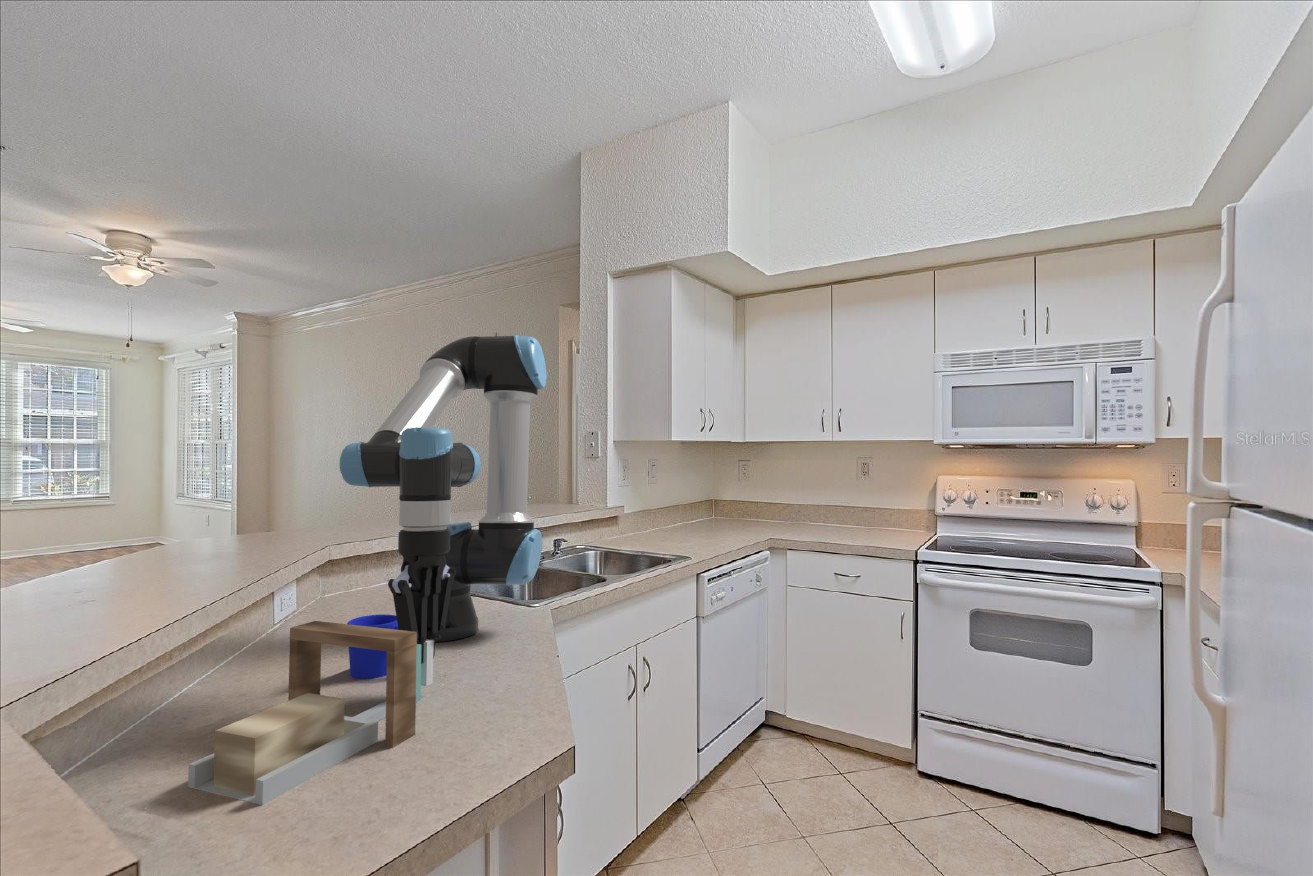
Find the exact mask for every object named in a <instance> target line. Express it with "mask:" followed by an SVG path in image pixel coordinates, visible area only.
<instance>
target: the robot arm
mask: <svg viewBox="0 0 1313 876" xmlns="http://www.w3.org/2000/svg"><path fill="white" fill-rule="evenodd" d="M544 356H545V355H544V352H543V348H542V346H541V344H540V342H539V341H538V339H536V338H534V337H533V336H525V335H523V336H522V335H518V334H514V335H498V336H495V335H494V336H493V335H492V336H471V335H470V336H467V337H462V338H458V339H456V340H454V341H452V342H450V343H448V344H446V345H445V346H443V347H441V348H439V349H438V350H437V351H435V352H434V353H433V354H432V355H431V356H429V358H428V359H427V360H426V361H425V362H424V363H423V364H422V366H421V368H420V371H419V378H418V379H417V381H415V382H414V384H413V385H412V387H411V388H410V389H409V390H408V392H406V394H405V395H404V396H403V398H402V399H401V400H400V401H399V403H398V404H397V405H396V406H395V408H394V409H393V411H392V412H391V413H390V414H389V415H388V416H387V418H386V419H385V420H384V422H383V423H382V424H381V425H380V427H379V428H377V431H375V433H374V434H373V436H372V437H371V438H370V439H369V440H368V441H367V442H364V441H359V442H353V443H349V444H347V445H346V446H344V448H343V449H342V451H341V453H340V458H339V471H340V474H341V477H342V480H343V481H344V482H345V483H346V484H348V485H350V486H353V487H355V486H357V487H368V488H384V487H385V488H392V487H397V488H399V496H398V497H399V500H398V501H399V512H398V513H399V515H398V516H399V517H398V520H399V521H398V525H399V526H400V527H402V528H403V529H401V530H399V532H398V538H397V539H398V540H397V541H398V543H397V544H398V545H397V547H398V549H397V550H398V551H397V552H398V554H399V555H401V556H402V563H401V566H400V574H399V575H398V576H397V577H396V578H394V579H393V578H391V579H389V580H388V582H387V586H388V588H389V590H390V592H391V594H392V597H393V603H394V604H393V605H394V610H395V616H396V617H397V623H398V629H399V630H403V631H412V632H417V644H420V645H421V686H422V687H428V686H429V685H432V684H433V683H434V658H435V653H436V649H435V648H436V643H438V642H439V643H440V642H449V641H455V640H460V639H465V638H467V637H470V636H473V635H475V634H476V633H478V632H479V617H478V616H477V612H476V608H475V605H474V603H473V602H474V601H473V600H472V599H473V598H472V595H471V587H472V585H498V586H499V585H503V586H504V585H506V586H507V587H510V586H512V585H513V586H514V585H527V584H529V583H530V582H531V581H532V580H533V579H534V577H535V576H536V573H537V572H538V569H539V565H540V563H541V562H540V561H541V557H542V551H543V550H542V549H543V536H542V532H541V531H540V530H538V529H537V528H535V521H534V520H533V518H531V516H530V515H529V514H528V497H529V496H528V494H529V493H528V492H529V491H528V490H529V458H530V457H529V456H530V455H529V454H530V427H531V426H530V425H531V405H532V404H533V403H534V402H535V401H536V400H537V399H538V394H539V393H538V392H539V391H538V390H542V389H544V388H545V387H546V386H547V379H548V378H547V367H546V366H547V365H546V359H545V357H544ZM466 390H483V397H484V398H485V399H486V400H487V401H488V402H489V403H490V407H489V410H490V411H489V431H488V433H489V435H488V461H487V462H488V463H487V489H486V513H485V514H484V515H483V517H482V518H480V519H479V520H478V529H476V528H475V529H473V526H472V523H471V522H470V521H468V522H456V523H455V522H454V523H452V495H451V494H452V488H462V487H463V486H467V485H469V484H470V483H473V482H475V480H476V479H477V478H478V476H479V474H480V472H481V468H482V464H481V458H480V455H479V453H478V452H477V451H476V450H475V449H474V447H472V446H470V445H468V444H465V443H462V442H459V441H458V442H453V439H452V432H451V431H450V429H448V428H446V427H445V428H444V427H433V426H434V425H435V424H436V422H437V421H438V419H439V418H440V416H441V415H442V414H443V412H444V410H445V409H446V407H447V406H448V404H449V403H450V402H451V400H452V399H455V398H457V397H459V396H460V395H461V394H462V393H463V391H466Z"/></svg>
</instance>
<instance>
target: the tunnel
mask: <svg viewBox="0 0 1313 876" xmlns="http://www.w3.org/2000/svg"><path fill="white" fill-rule="evenodd" d="M322 644H324V645H325V644H327V645H334V646H335V645H336V646H341V647H342V646H343V647H348V648H349V647H357V648H365V649H373V650H381V651H387V676H386V679H385V680H386V684H385V685H386V686H385V688H386V689H385V691H386V692H385V694H386V696H385V701H386V717H385V744H384V745H385V747H386V748H390V749H391V748H392V749H393V748H395V747H398V746H399V745H400V744H402V743H404V742H406V741H407V740H409V739H411V738H412V737H414V736H416V719H417V718H416V715H417V714H416V710H417V709H416V707H417V705H416V703H417V702H416V654H417V632H412V631H403V630H394V629H385V628H376V627H367V626H358V625H349V624H347V623H341V622H340V623H339V622H338V623H337V622H330V621H329V622H328V621H320V620H313V621H309V622H307V623H303V624H299V625H295V626H292V627H290V628H289V657H288V658H289V663H288V667H289V668H288V697H287V698H288V700H287V701H289V700H292V699H294V698H297V697H299V696H301V695H304V694H306V693H311V694H318V695H321V675H322V674H321V673H322V672H321V668H322V667H321V666H322V665H321V664H322Z"/></svg>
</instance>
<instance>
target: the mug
mask: <svg viewBox="0 0 1313 876" xmlns="http://www.w3.org/2000/svg"><path fill="white" fill-rule="evenodd" d="M346 624H349V625H358V626H367V627H376V628H385V629H394V630H399V629H398V623H397V617H396V614H383V613H382V614H370V615H364V616H363V615H362V616H359V617H356V618H352V619H350V620H349V621H347V623H346ZM348 657H349V659H348V661H349V674H350V677H351V678H353V679H355V680H356V679H357V680H372V679H378V678H379V679H380V678H383V677H387V651H381V650H373V649H365V648H357V647H349V646H348Z"/></svg>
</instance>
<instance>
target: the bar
mask: <svg viewBox="0 0 1313 876" xmlns="http://www.w3.org/2000/svg"><path fill="white" fill-rule="evenodd" d="M345 701H346V700H345V698H342V697H335V696H330V695H329V696H328V695H323V694H320V695H318V694H311V693H306V694H304V695H301V696H299V697H297V698H294V699H292V700H289V701H288V700H287V701H284V702H282V703H280V704H276V705H274V706H272V707H270V708H267V709H265V710H263V711H259V712H257V713H254V714H252V715H250V716H247V717H244V718H243V719H242V718H241V719H240V720H238V721H237V720H236V721H235V722H232V723H230V724H228V725H225V726H223V727H220V728H218V729H215V730H214V749H213V750H214V752H213V753H214V786H215V787H219V788H223V789H227V790H231V791H236V792H240V793H244V794H248V795H252V796H254V795H256V779H258V778H260V777H262V776H264V775H266V774H268V773H270V772H272V771H274V770H276V769H278V768H280V767H282V766H284V765H286V764H288V763H290V762H291V761H293V760H295V759H297V758H299V757H301V756H303V755H305V754H307V753H309V752H311V751H313V750H315V749H317V748H319V747H321V746H323V745H325V744H327V743H329V742H331V741H333V740H335V739H337V738H339V737H341V736H343V735H344V716H345Z"/></svg>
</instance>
